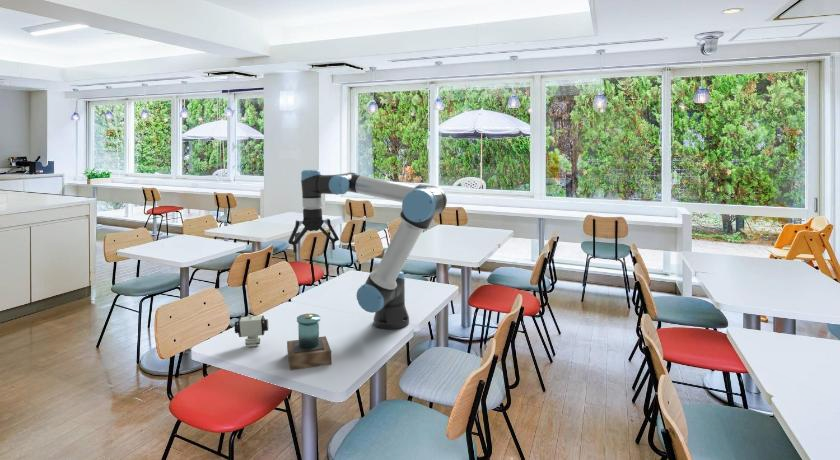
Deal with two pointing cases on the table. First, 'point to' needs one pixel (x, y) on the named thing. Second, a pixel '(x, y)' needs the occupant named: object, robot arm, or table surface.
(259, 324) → the pneumatic valve
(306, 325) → the teal glass jar
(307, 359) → the walnut stand
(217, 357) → the table surface
